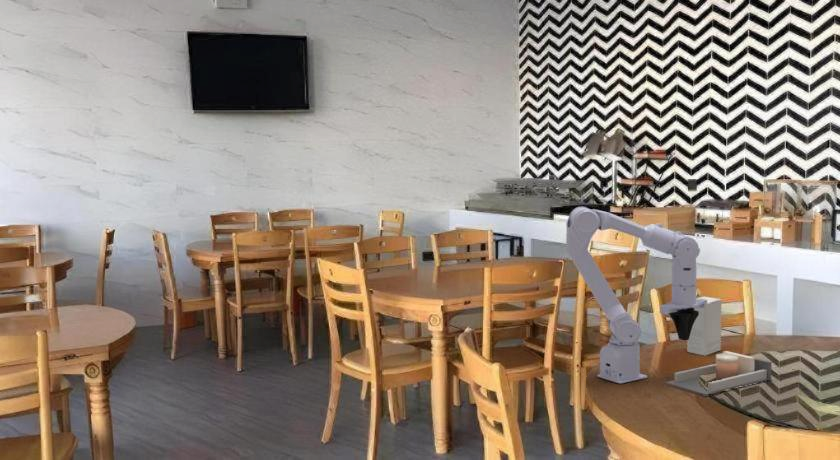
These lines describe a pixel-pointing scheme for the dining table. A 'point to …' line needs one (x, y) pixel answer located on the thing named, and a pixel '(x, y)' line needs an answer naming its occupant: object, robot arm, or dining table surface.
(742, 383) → the lane
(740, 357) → the follower
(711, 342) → the skincare box
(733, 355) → the jar
